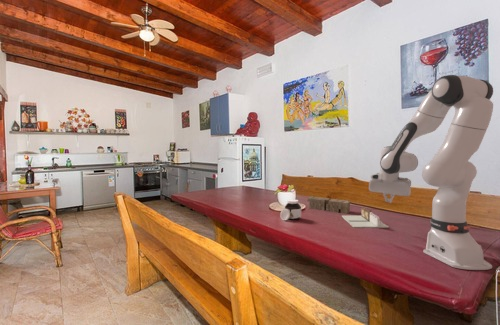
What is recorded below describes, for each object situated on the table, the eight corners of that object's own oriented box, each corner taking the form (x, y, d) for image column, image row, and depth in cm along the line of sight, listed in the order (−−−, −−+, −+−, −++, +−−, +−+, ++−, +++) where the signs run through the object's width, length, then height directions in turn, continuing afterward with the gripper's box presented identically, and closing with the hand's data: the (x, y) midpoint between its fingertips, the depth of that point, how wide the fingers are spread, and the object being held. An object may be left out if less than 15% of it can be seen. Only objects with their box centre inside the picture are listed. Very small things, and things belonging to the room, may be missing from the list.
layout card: (388, 227, 144) (388, 226, 144) (353, 227, 146) (353, 226, 146) (371, 216, 168) (371, 215, 168) (341, 216, 170) (341, 215, 170)
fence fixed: (371, 222, 155) (371, 210, 155) (368, 222, 155) (369, 210, 155) (363, 216, 168) (363, 206, 167) (361, 216, 168) (361, 206, 168)
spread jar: (302, 217, 167) (302, 199, 167) (297, 222, 157) (297, 203, 157) (284, 216, 172) (284, 198, 172) (278, 220, 162) (278, 201, 162)
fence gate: (379, 226, 144) (379, 217, 143) (377, 226, 144) (377, 217, 143) (371, 221, 154) (371, 212, 154) (369, 221, 155) (369, 212, 154)
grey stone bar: (350, 213, 182) (312, 206, 200) (351, 201, 181) (312, 195, 200) (346, 215, 176) (307, 208, 194) (347, 203, 175) (307, 196, 194)
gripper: (413, 177, 134) (412, 204, 135) (372, 174, 149) (372, 198, 150) (409, 179, 130) (407, 206, 131) (367, 175, 145) (367, 200, 146)
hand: (388, 202), depth 141 cm, fingers closed
